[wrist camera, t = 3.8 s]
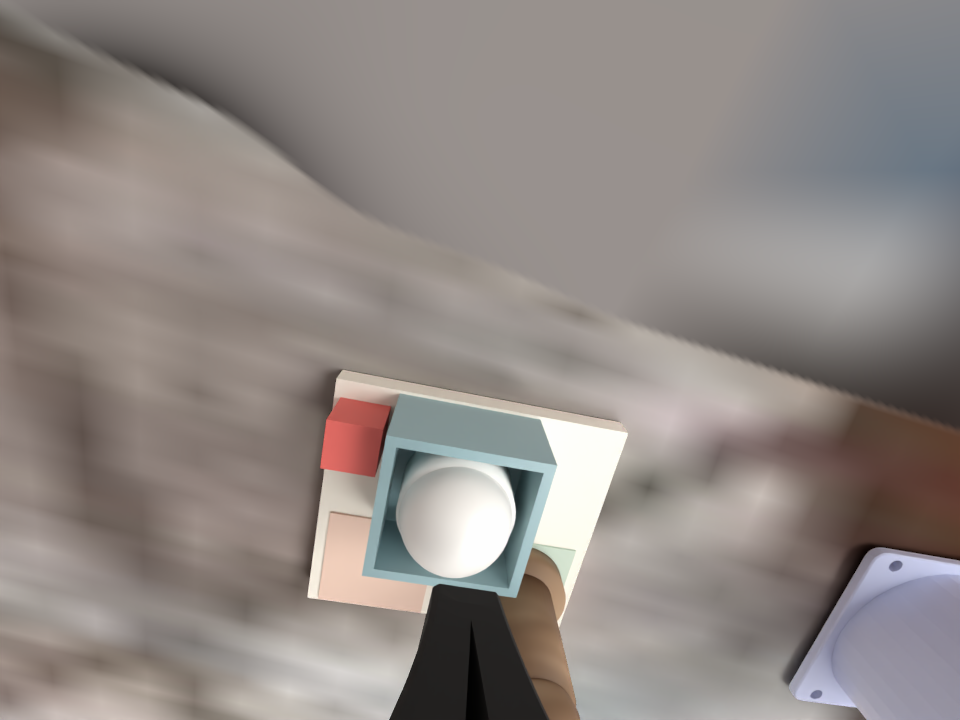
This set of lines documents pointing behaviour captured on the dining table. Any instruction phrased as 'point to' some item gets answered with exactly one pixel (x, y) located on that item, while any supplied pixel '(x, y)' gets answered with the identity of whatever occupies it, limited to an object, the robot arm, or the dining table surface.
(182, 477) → the dining table surface
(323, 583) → the game board
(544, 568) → the pawn
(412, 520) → the dome
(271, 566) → the dining table surface
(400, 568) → the dome housing
